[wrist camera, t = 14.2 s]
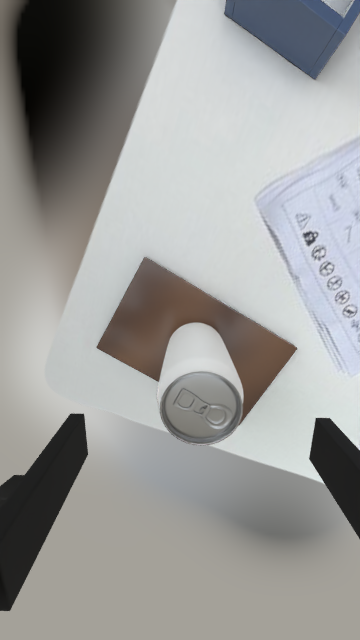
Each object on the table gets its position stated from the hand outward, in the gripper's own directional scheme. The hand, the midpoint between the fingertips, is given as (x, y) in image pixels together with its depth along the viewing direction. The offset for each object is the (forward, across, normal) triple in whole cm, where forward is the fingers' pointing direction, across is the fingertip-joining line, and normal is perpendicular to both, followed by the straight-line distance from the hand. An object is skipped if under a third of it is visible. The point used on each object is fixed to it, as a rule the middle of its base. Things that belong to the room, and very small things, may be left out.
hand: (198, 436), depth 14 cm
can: (+15, 0, 0) cm, 15 cm away
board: (+16, 0, 0) cm, 16 cm away
